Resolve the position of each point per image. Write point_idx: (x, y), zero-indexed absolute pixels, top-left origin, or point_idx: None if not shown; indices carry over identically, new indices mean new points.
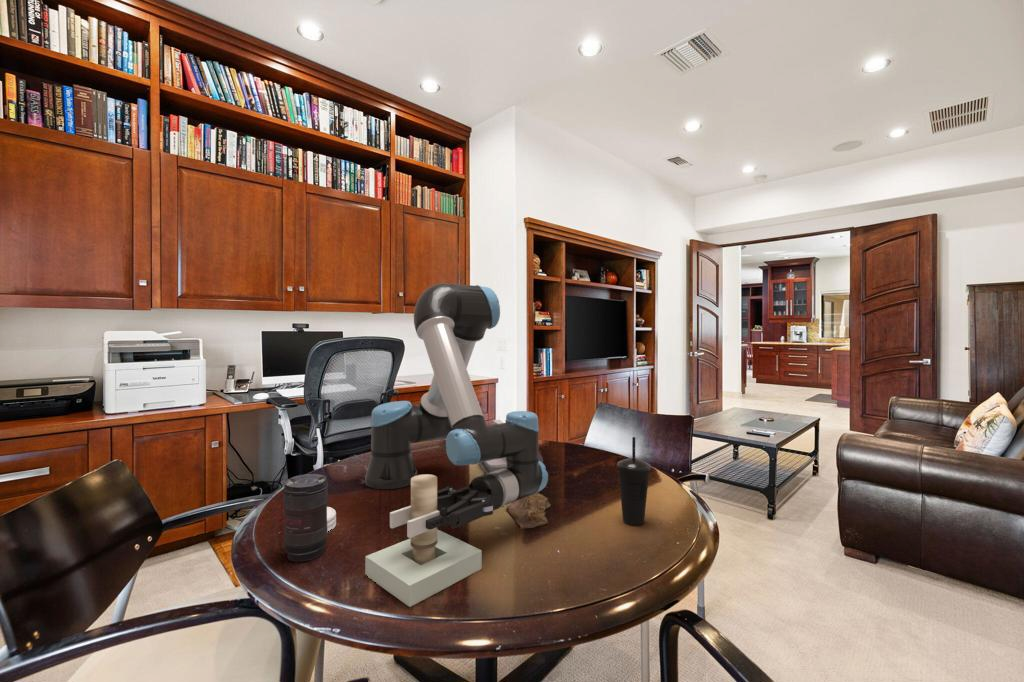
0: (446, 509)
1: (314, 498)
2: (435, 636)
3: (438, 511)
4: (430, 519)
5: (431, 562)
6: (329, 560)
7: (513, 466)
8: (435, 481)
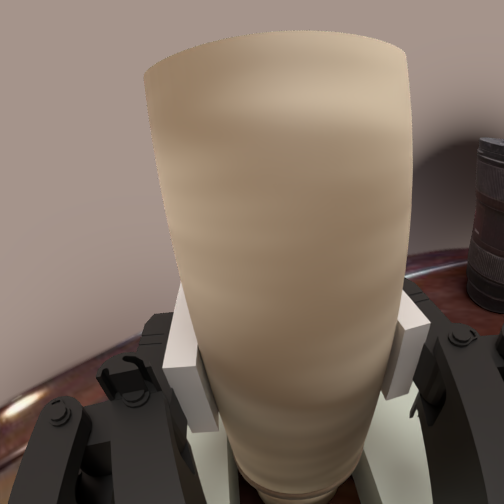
0: (100, 375)
1: (489, 173)
2: (79, 382)
3: (167, 360)
4: (168, 326)
5: (212, 453)
6: (464, 320)
7: None
8: (146, 89)
